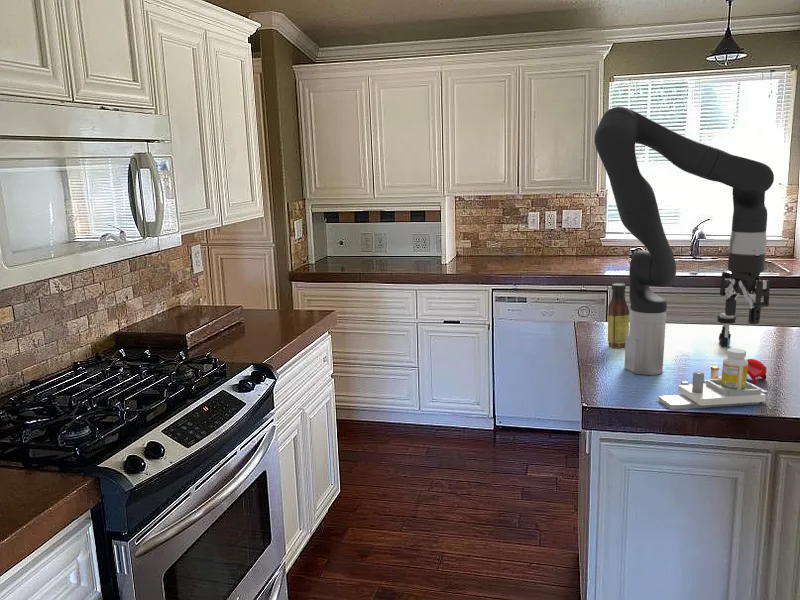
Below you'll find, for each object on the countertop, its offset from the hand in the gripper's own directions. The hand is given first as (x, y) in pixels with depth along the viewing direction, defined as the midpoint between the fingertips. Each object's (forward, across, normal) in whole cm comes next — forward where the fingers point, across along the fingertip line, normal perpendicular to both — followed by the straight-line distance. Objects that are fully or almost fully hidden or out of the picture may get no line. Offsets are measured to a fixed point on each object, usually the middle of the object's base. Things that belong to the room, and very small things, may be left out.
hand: (741, 319), depth 155 cm
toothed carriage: (+19, -1, -4) cm, 19 cm away
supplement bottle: (+17, 0, -1) cm, 17 cm away
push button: (+21, -45, +27) cm, 57 cm away
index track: (+20, -3, -6) cm, 21 cm away
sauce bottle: (+20, -50, -6) cm, 54 cm away
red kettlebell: (+20, -13, +14) cm, 28 cm away
